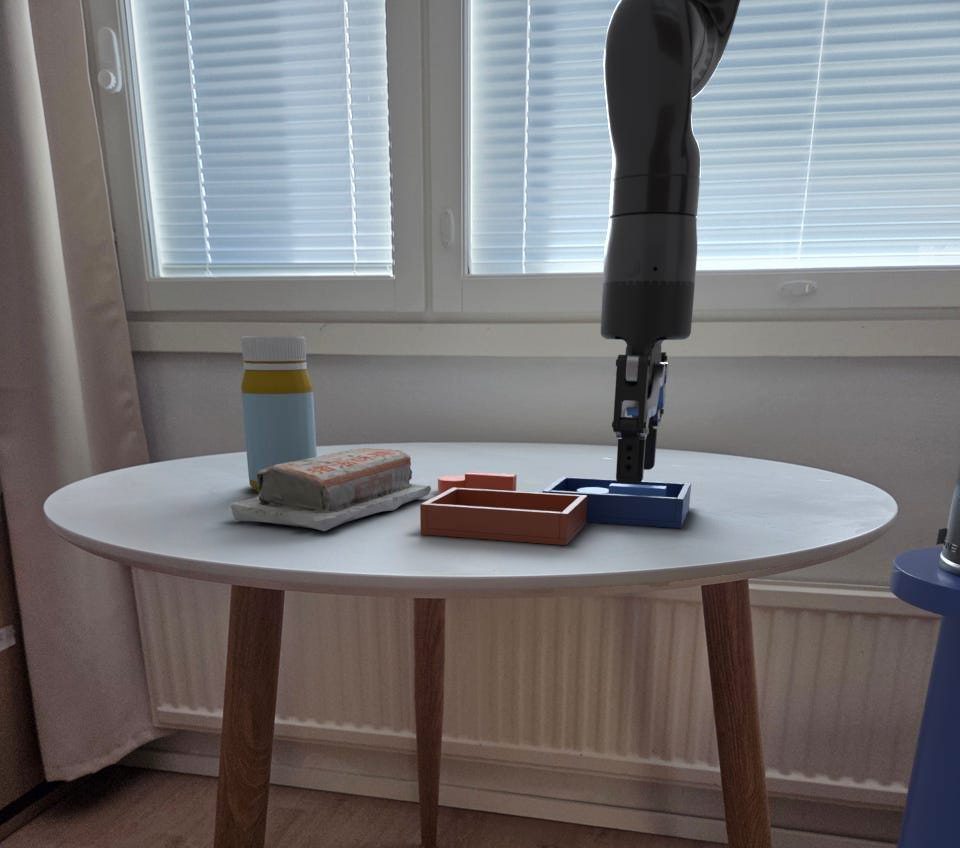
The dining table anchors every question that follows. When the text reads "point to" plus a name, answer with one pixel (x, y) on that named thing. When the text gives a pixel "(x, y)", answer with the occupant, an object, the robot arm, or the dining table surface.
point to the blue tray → (629, 502)
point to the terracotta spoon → (478, 481)
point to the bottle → (276, 402)
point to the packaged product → (331, 489)
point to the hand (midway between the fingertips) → (636, 475)
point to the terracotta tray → (504, 515)
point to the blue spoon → (628, 490)
